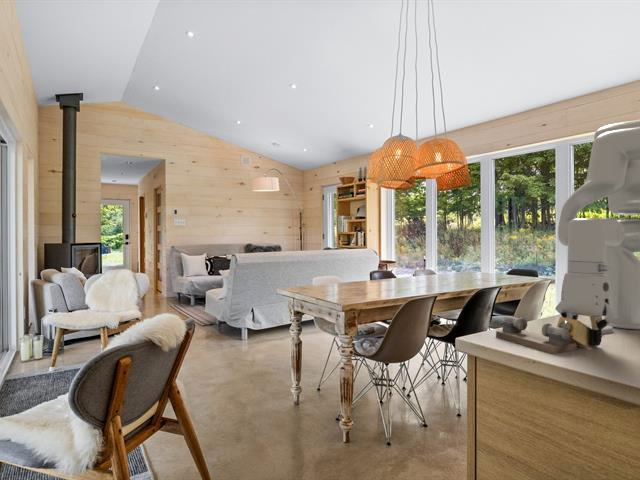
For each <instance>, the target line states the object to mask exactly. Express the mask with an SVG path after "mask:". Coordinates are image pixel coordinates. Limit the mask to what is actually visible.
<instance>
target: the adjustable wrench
mask: <svg viewBox="0 0 640 480" xmlns="http://www.w3.org/2000/svg"><path fill="white" fill-rule="evenodd" d="M585 325H586V326H588V327H589V328H591V329H592V324H591V323H588V324H587V323H585ZM613 332H614V327H611V326H608V325H607V326H606V327H604V329H602V334H601V336H603V335H606V334H612V333H613ZM595 347H596V346H590V345H589V346H588V348H595Z"/></svg>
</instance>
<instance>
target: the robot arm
mask: <svg viewBox="0 0 640 480" xmlns="http://www.w3.org/2000/svg"><path fill="white" fill-rule="evenodd" d="M593 139H594V140H593V143H592V146H591V151H590V157H589V163H588V168H587V174H586V179H585V183H584V184H582V185H581V186H580V187H578V188H577V189H575V191H573V192H572V194H571V195H570V196H569V197H568V199H566V201H565V203H564V204H563V206H562V209H561V211H560V214H559V215H560V216H559V222H558V227H557V237H558V238H557V239H558V240H559V242H560V244H562V245H563V246H565V247H567V264H566V265H567V267H566V270H567V272H565V273H564V275H563V280H562V283H561V292H560V301H559V302H558V304H557V305H556V306H555V311H556V312H557V313H559V315H561V316H560V317H564V318H569V319H574V320H578V319H579V316H586V317H589V320H590V324H592V329H590V343H589V345H590V346H595V347H598V346H601V343H602V335H603V334H602V329H604V327H606V326H607V325H608V326H611V327H613V328H619V329H627V330H640V259H639V258H638V256H636V255H635V254H634V253H640V219H615V218H608V217H607V218H604V217H603V218H601V217H600V218H597V217H596V218H594V217H590V218H589V217H587V218H585V217H584V218H580V217H579V218H577V216H578V214H579V213H580V212H581V211H582V209H584V208H585V207H587V206H588V205H590V204H592V203H594V202H596V201H599V200H602V199H604V198H606V197H607V205H608V209H609V211H610V213H611V214H614V215H618V216H640V119H637V120H636V119H634V120H628V121H623V122H617V123H612V124H608V125H604V126H602V127H600V128H598V129H597V130H596V131H595V133H594V136H593ZM601 334H602V335H601Z"/></svg>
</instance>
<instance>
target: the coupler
mask: <svg viewBox="0 0 640 480" xmlns="http://www.w3.org/2000/svg"><path fill="white" fill-rule="evenodd" d="M557 321H558V322H557V325H556V327H559V328H563V329H567V330H568V331H569V333H570V342H573V343H577V344H576V346H577V347H578V346H579V347H583V348H586V349H588V348H589V347H588V346H589V343H590V329H591V328H589V327H588V326H586V323H583V322H582V321H580V320H578V319H577V320H574V319H569V318H564V317H562V316H559V319H558V320H557Z"/></svg>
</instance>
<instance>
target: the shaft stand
mask: <svg viewBox="0 0 640 480" xmlns="http://www.w3.org/2000/svg"><path fill="white" fill-rule="evenodd" d="M527 328H528V320H527V319H526V318H525V317H519V318H517V317H515V316H514V317H513V316H511V315H510V316H509V315H506V316H505V317H504V318H503V321H502V330H496V333H495V334H496V335H495V336H496V338H499V339H503V340H505V341H509V342H512V343H517V344H519V345H522V344H523V346H527V347H530V348H533V349H537V350H540V351H544V352H547V353H551V354H554V355H555V354H559V353H566V352H570V351H576V350H577V345H576V344H577V343H573V342H570V333H569V331H568V330H567V329H563V328H559V327H557V326H553V325H552V324H551V323H548V322H546V323H543V325H542V327H541V333H542V334H541V333H538V332H532V331H529V330H526V329H527Z"/></svg>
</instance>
